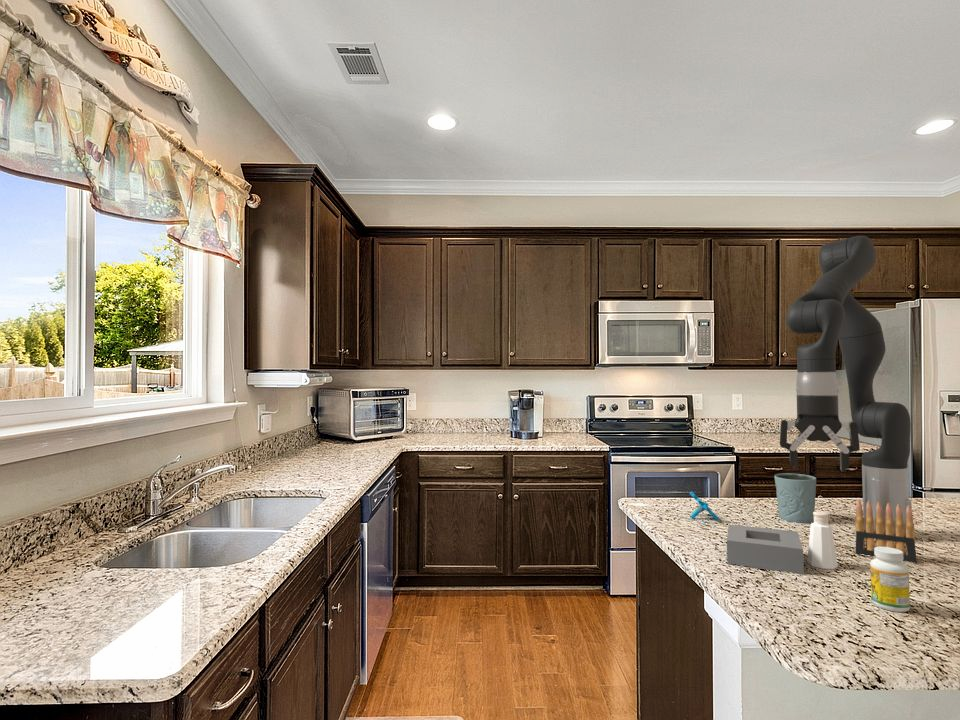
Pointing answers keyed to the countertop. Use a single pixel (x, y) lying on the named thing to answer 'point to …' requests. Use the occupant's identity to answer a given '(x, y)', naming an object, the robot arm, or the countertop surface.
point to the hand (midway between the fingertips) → (818, 469)
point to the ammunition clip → (888, 538)
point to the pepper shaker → (821, 543)
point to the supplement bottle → (889, 580)
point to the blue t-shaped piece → (701, 507)
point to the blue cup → (796, 497)
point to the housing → (765, 548)
